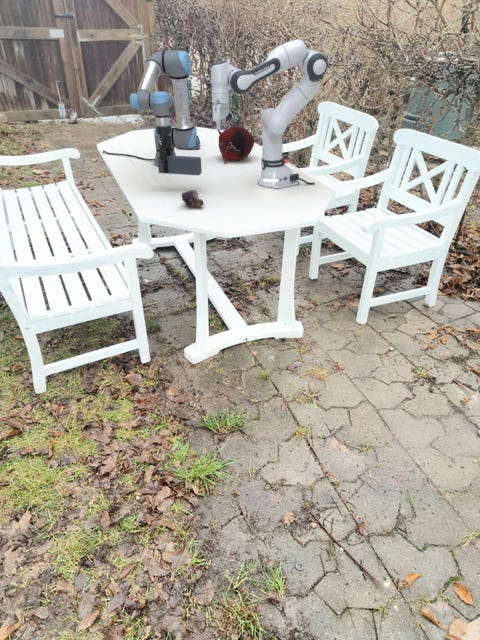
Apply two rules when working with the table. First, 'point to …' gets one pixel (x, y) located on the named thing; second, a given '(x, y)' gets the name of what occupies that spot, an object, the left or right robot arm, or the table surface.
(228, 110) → the right robot arm
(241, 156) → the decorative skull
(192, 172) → the bar
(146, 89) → the left robot arm
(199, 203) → the rock
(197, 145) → the koala plush
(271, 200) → the table surface
